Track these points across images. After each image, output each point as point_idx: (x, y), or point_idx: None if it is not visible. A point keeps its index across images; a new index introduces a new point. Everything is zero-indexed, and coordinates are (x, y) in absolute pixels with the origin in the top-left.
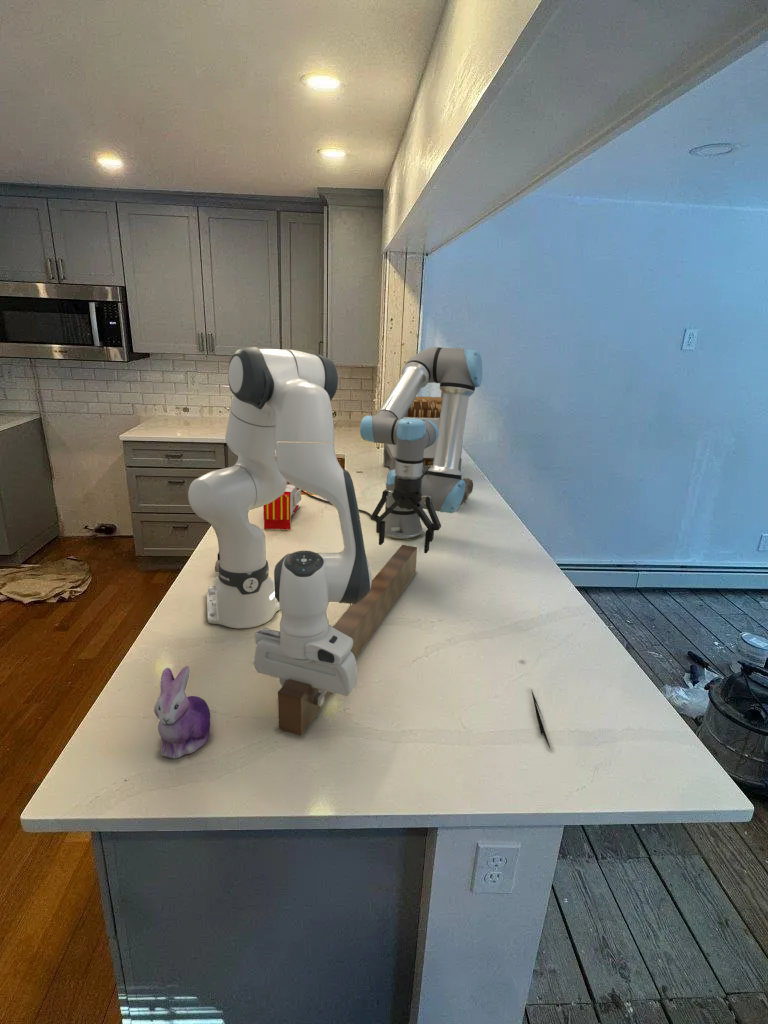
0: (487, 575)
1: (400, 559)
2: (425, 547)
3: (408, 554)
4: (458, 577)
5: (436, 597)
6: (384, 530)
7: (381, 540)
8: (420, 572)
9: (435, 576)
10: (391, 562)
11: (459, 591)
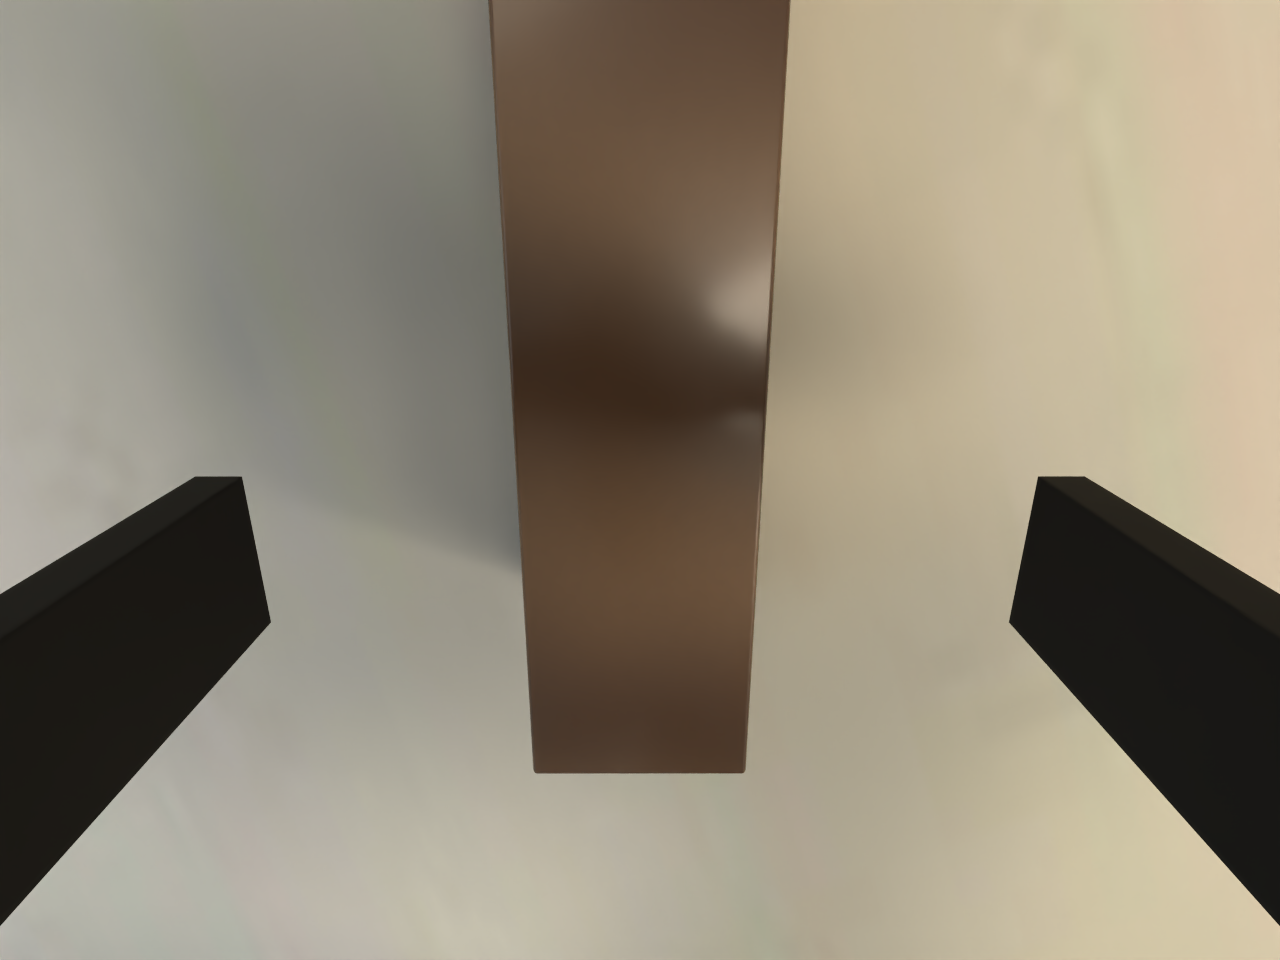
0: None
1: (614, 291)
2: (157, 518)
3: (563, 517)
4: None
5: (201, 189)
6: (1152, 761)
7: (1086, 522)
8: None
9: (383, 598)
10: (715, 99)
11: (70, 407)
